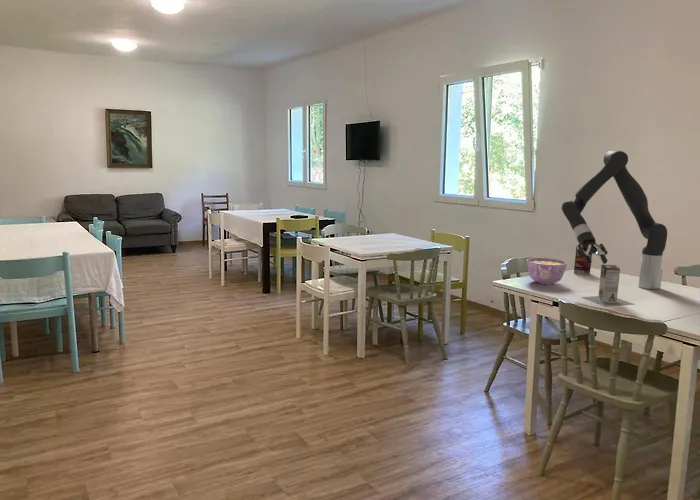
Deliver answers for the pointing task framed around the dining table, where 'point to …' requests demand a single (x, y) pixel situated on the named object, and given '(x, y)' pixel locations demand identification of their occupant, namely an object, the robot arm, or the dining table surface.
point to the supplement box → (581, 264)
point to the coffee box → (609, 283)
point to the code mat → (598, 301)
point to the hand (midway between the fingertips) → (597, 263)
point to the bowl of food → (546, 269)
